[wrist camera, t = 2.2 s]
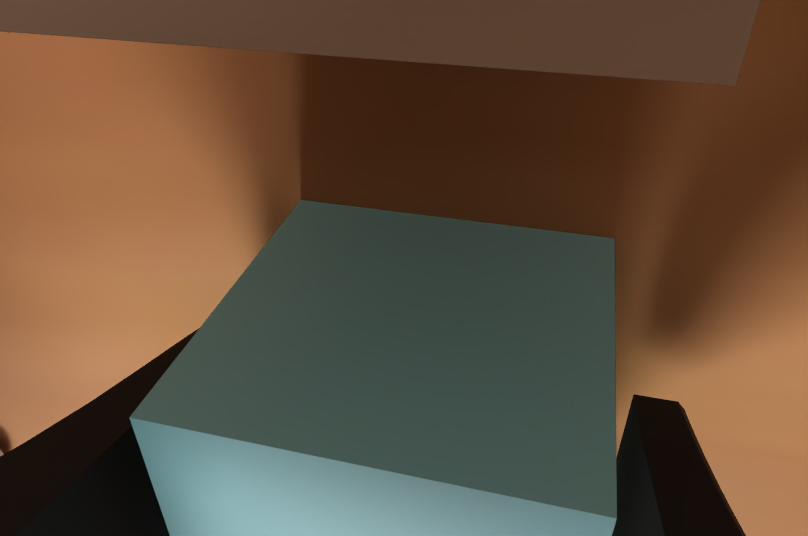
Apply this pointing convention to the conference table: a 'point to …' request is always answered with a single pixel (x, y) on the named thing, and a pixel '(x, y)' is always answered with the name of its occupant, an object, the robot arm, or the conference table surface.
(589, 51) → the walnut block
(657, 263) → the conference table surface
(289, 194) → the conference table surface
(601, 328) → the teal block
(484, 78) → the conference table surface
